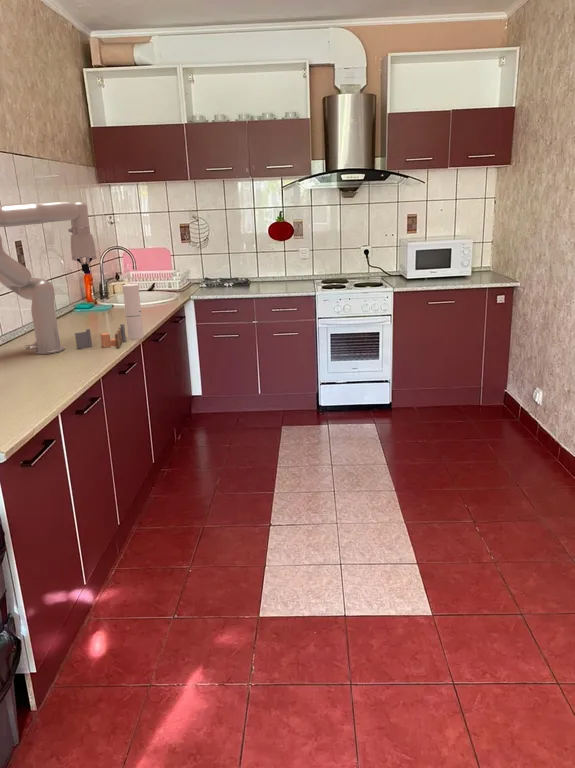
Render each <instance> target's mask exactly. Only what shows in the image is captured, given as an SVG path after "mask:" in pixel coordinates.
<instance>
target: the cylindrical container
mask: <svg viewBox="0 0 575 768" xmlns="http://www.w3.org/2000/svg"><path fill="white" fill-rule="evenodd" d="M121 286H122V293H123V302H124V303H123V304H124V310H125V319H126V320H125V322H126V329H127V336H128V337H127V338H128V340H141V339H143V338H144V337H145V335H144V325H143V316H142V308H141V299H140V290H139V289H140V288H139V284H138V283H128V284H127V283H126V284H123V285H121Z"/></svg>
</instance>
